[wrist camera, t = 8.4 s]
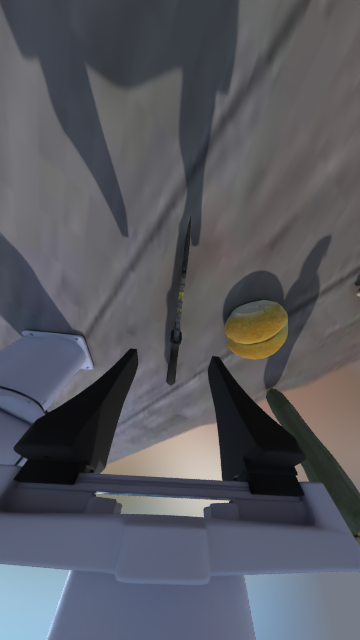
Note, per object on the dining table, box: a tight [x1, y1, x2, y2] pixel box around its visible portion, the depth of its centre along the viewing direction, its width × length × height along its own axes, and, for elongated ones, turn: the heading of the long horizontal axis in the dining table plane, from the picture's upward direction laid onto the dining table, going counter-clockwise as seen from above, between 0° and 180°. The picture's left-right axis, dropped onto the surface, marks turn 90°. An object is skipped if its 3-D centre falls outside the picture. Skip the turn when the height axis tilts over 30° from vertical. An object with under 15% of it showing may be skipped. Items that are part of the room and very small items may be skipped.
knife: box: [166, 216, 191, 385], centre depth 18 cm, size 23×2×5 cm, turn 174°
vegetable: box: [266, 388, 360, 547], centre depth 19 cm, size 4×4×20 cm
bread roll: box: [225, 300, 288, 359], centre depth 18 cm, size 8×9×4 cm
